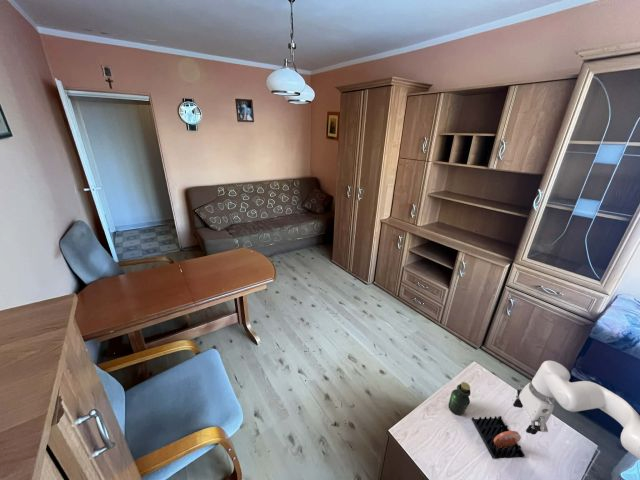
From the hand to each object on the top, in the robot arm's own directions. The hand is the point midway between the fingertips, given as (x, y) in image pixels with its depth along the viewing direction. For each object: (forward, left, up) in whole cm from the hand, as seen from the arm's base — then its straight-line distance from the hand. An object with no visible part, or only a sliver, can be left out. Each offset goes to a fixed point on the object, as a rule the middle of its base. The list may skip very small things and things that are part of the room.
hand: (523, 419), depth 102 cm
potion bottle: (+19, +10, -26) cm, 34 cm away
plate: (+2, -2, -25) cm, 25 cm away
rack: (+6, -2, -26) cm, 27 cm away
